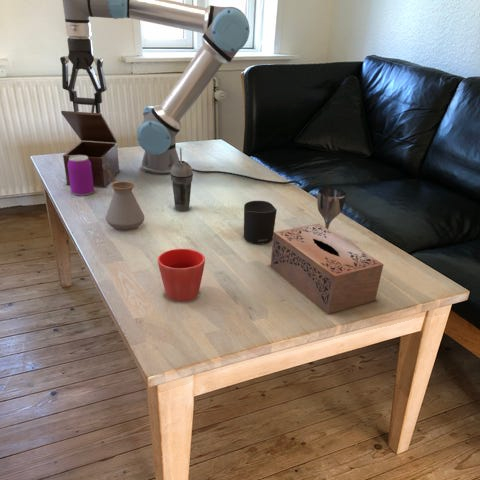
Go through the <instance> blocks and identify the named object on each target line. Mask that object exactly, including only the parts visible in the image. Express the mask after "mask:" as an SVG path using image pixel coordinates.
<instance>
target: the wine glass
mask: <svg viewBox="0 0 480 480" xmlns="http://www.w3.org/2000/svg"><path fill="white" fill-rule="evenodd" d="M346 199H347V192H346V191H345V190H344V189H341V188H338V187H330V186H329V187H321V188H319V189H318V191H317V198H316V204H317V210H318V213H319V214H320V216H321V217H322V218H323V220H324V224H325V225H324V227H325V228H327V229H328V230H329V227H330V225H331V223H332V221H333V220H335V219H336V218H337V217H338V216H339V215H340V214H341V213H342V211H343V210H344V209H343V208H344V206H345V203H346Z"/></svg>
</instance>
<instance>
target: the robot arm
mask: <svg viewBox="0 0 480 480" xmlns="http://www.w3.org/2000/svg"><path fill="white" fill-rule="evenodd" d="M62 8H63V15H64V23H65V30H66V36H67V39H66V41H67V48H68V54H67V56H65V55H64V56H61V57H60V58H59V60H60V63H61V73H62V74H61V76H62V77H61V79H62V80H61V83H62V85H61V86H62V87H61V88H62V89H63V90H65V91H67V92H68V96H69V102H72V106H73V107H72V108H73V109H74V106H75V103H74V98H75V97H78V93H77V90H75V86H76V83H77V76H78V74H79V71H80V70H83V71H86V73H87V75H88V76H89V80H90V81H91V84H92V85H93V88H94V90H95V93H93V94H94V95H93V96H94V97H93V98H95V113H101V112H102V111H101V104H102V103H103V94H102V93H104V92H106V91H107V90H108V88H107V83H106V77H105V73H104V68H103V64H104V60H103V58H98V57H95V55H94V53H93V42H92V38H90V37H91V36H92V32H91V31H92V30H91V23H90V17H91V18H105V19H114V20H119V19H132V20H137V21H142V22H147V23H151V24H157V25H160V26H162V25H163V26H167V27H169V28H170V27H171V28H176V29H181V30H185V31H191V32H195V33H200V34H203V35H202V37H201V41H202V42H201V43H202V44H201V46H200V47H199V49H198V51H197V52H196V53H195V55H193V58H192V59H191V61H190V62H189V63H188V65H187V67H186V68H185V69H184V70H183V72H182V73H181V75H180V77H179V78H178V79H177V81H176V82H175V84H174V85H173V86H172V88H171V89H170V91H169V92H168V93H167V95H166V97H165V98H164V99H163V101H162V102H161V104H157V105H149V106H144V107H143V113H142V115H143V121H142V123H141V124H140V125H139V126H138V128H137V135H136V136H137V141H138V145H139V146H140V147H141V149H142V150H143V151H144V153H143V157H142V161H141V169H142V171H144V172H146V173H149V174H154V175H155V174H156V175H170V173H171V168H172V166H173V165H174V164H175V163H176V162H178V161H180V156H179V155H178V152H177V151H178V150H177V145H176V142H177V140H176V139H177V138H176V136H177V135H178V133H179V132H180V131H181V129H182V120H183V119H184V118H185V116H186V115H187V113H189V111H190V110H191V109H192V107H193V106H194V104H195V103H196V102H197V100H198V99H199V97H200V96H201V95H202V93H203V92H204V91H205V89H206V87H207V86H208V85H209V84H210V82H211V81H212V79H213V78H214V77H215V75H216V74H217V73H218V71H219V70H220V68H221V67H222V65H224V64H230V62H231V61H232V60H234V58H235V56H236V55H237V54H238V52H239V51H240V50H241V49H242V48H244V47H245V46H246V44H247V42H248V40H249V36H250V23H249V20H248V18H247V16H246V15H245V13H244V12H243V11H242V10H241V9H239V8H237V7H234V6H218V5H217V6H216V5H211V4H209V5H207V6H206V7H204V6H198V5H194V4H189V3H185V2H180V1H175V0H62ZM69 62H70V63H71V64H72V68H71V74H70V79H69ZM93 63H94V65H95V66H96V71H97V72H96V73H97V74H98V75H97V76H98V79H99V80H98V79H97V76H96V73H95V71H94V67H93V66H92V65H93ZM77 112H80V111H79V104H77ZM101 114H102V113H101ZM192 171H193V172H195V173H199V174H200V173H201V174H222V175H223V174H224V175H230V176H235V177H241V178H245V179H250V180H253V181H257V182H264V183H269V184H277V185H288V184H289V185H290V184H297V185H298V186H303V184H302V183H301V182H300V181H298V180H289V181H275V180H268V179H263V178H257V177H253V176H249V175H245V174H240V173H235V172H229V171H221V170H199V169H195V168H192Z"/></svg>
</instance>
